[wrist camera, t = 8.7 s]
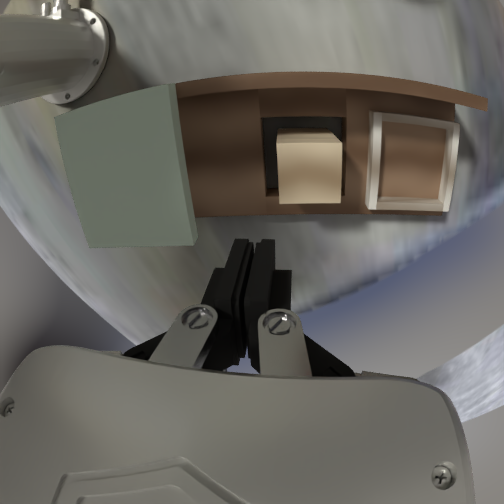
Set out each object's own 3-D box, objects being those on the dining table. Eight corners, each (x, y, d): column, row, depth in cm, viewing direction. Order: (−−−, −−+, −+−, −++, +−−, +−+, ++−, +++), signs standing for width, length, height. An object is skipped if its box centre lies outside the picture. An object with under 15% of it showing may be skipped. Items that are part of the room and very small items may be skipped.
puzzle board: (130, 97, 27) (86, 106, 20) (443, 90, 23) (487, 98, 16) (151, 211, 34) (120, 246, 27) (433, 206, 30) (465, 241, 23)
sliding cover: (64, 114, 20) (54, 117, 18) (175, 83, 18) (167, 83, 17) (96, 240, 27) (89, 248, 25) (198, 236, 25) (193, 245, 24)
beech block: (277, 128, 28) (276, 143, 21) (327, 128, 27) (342, 143, 20) (280, 174, 30) (279, 203, 24) (327, 174, 30) (340, 203, 23)
